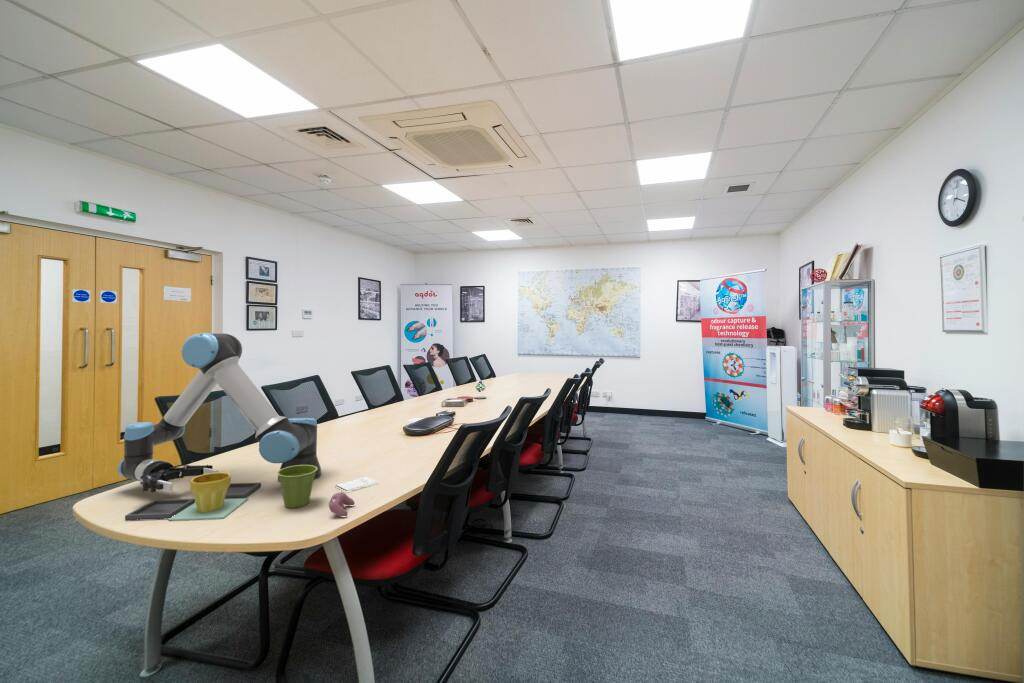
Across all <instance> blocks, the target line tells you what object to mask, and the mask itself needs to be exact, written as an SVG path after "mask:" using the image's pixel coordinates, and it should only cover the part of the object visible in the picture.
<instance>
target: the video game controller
mask: <svg viewBox="0 0 1024 683" xmlns="http://www.w3.org/2000/svg"><path fill="white" fill-rule="evenodd" d="M354 504H355V500H354V499H353V498H351V497H350V496H348V495H347V493H346V492H344V491H340V492H336V493H334V494H333V495H332V496H331V497H330V500H329V502H328V508H329V510H330V511H331V513H333V514H335V515H336V516H337V517H339V516H347V517H348V511H347V509H345V506H346V505H354ZM355 505H356V504H355ZM355 505H354V506H355ZM343 508H344V509H343Z"/></svg>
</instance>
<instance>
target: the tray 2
mask: <svg viewBox="0 0 1024 683" xmlns="http://www.w3.org/2000/svg"><path fill="white" fill-rule="evenodd" d="M260 486H262V483H261V482H237V483H233V482H232V483H231V484H230V486H229V487H228V489H227V493H226V497H225V499H239V498H248V497H249V496H251V493H252V494H253V493H254V492H256V491H257V490H259V489H260V488H261V487H260ZM259 487H260V488H259ZM255 490H256V491H255ZM247 496H248V497H247Z"/></svg>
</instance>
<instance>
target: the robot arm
mask: <svg viewBox="0 0 1024 683" xmlns="http://www.w3.org/2000/svg"><path fill="white" fill-rule="evenodd" d="M242 353H243V345H242V343H241V341H240V340H239V339H238V338H237V337H236V336H234V335H232V334H229V333H209V332H202V333H196V334H193V335H191V336H189V337H187V339H186V340H185V341H184V343H183V345H182V349H181V357H182V360H183V361H184V362H185V364H186V365H188V366H190V367H191V368H196V369H199V370H198V372H197V373H196V374H195V376H193V378H192V380H190V382H189V383H188V384H187V386H186V387H185V389H184V390H183V391H182V393H181V394H180V395H179V396H178V398H177V399H176V400H175V401H174V403H173V404H172V405H171V406H170V408H169V409H168V410H167V411H166V413H165V414H164V415H163V417H162V418H161V419H160V420H159V422H157V423H156V424H154V423H153V422H149V421H145V422H144V421H141V422H133V423H130V424H129V423H128V424H127V425H126V426H125V427H124V436H123V439H124V440H123V443H124V446H123V447H124V451H123V453H124V454H123V459H122V460H121V461H120V462H119V463H118V466H117V472H118V475H120V476H121V477H124V478H125V479H128V480H134V481H139V483H140V484H139V485H142V492H147V491H149V490H150V492H151V493H155V492H156V491H157V490H158V491H160V492H161V491H163V492H165V493H172V492H174V490H173V488H174V486H173V485H174V484H173V482H170V481H171V480H175V479H177V480H178V479H184V478H185V477H197V476H200V475H203V474H208V473H217V472H219V470H218V469H214V468H213V465H209V464H206V465H204V464H203V465H190V464H184V465H183V466H180V467H176V466H174V465H173V464H172V463H170V462H168V461H163V460H159V459H154V447H156V446H158V445H162V444H165V443H168V442H171V441H174V440H177V439H179V438H180V437H182V436H183V435H184V434H185V431H186V425H187V423H188V422H189V420H190V419H191V418H192V417H193V415H194V414H195V413H196V411H197V410H198V409H199V408H200V407H201V405H202V404H203V403H204V402H205V400H206V399H207V397H208V396H209V395H210V394H211V392H212V391H213V390H214V388H215V387H216V386H217V385H218V386H219V387H220V388H221V389H222V390H223V392H224V393H225V395H227V397H228V398H229V399H230V401H231V402H232V403H233V404H234V406H235V407H236V409H238V410H239V411H240V413H241V414H242V416H244V418H245V419H246V420H247V422H248V423H249V424H250V425H251V427H252V428H253V429H254V431H255V440H256V442H258V443H259V444H258V452H259V455H260V457H262V459H264V460H265V461H267V462H268V463H271V464H280V467H279V470H280V469H283V468H286V467H290V466H295V465H313V466H316V467H317V468H318V469H317V471H316V472H315V477H314V478H316V477H318V476H319V477H320V476H321V475H322V467H321V464H320V461H319V458H318V456H317V450H318V449H317V448H318V443H317V442H318V422H317V419H316V418H313V417H294V418H293V417H292V418H288V417H287V416H282V415H279V413H277V411H276V409H274V407H273V406H272V405H271V404H270V402H269V401H268V399H267V398H266V397H265V396H264V395H263V393H262V392H261V391H260V389H258V388H257V386H256V385H255V384H254V382H253V381H252V380H251V379H250V377H249V376H248V374H247V373H246V372H245V370H243V369H242V367H241V366H240V365H239V361H240V359H241V356H242ZM319 477H318V478H319ZM316 479H317V478H316ZM278 480H279V481H278ZM277 481H278V482H280V478H279V475H278V474H277Z"/></svg>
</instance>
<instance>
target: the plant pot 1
mask: <svg viewBox="0 0 1024 683" xmlns="http://www.w3.org/2000/svg"><path fill="white" fill-rule="evenodd" d="M231 482H232V475H231V473H229V472H225V471H224V472H222V471H220V472H219V471H218V472H217V473H208V474H203V475H199V476H194V477H193V478H191V480H190V486H189V487H190V492H191V493H192V494H193V497H194V498H193V499H195V502H196V507H197V510H198V511H199V512H210V511H215V510H218V509H220V508H222V507H223V504H224V500H225V497H226V493H227V489H228V487H229V486H230V484H231Z"/></svg>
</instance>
